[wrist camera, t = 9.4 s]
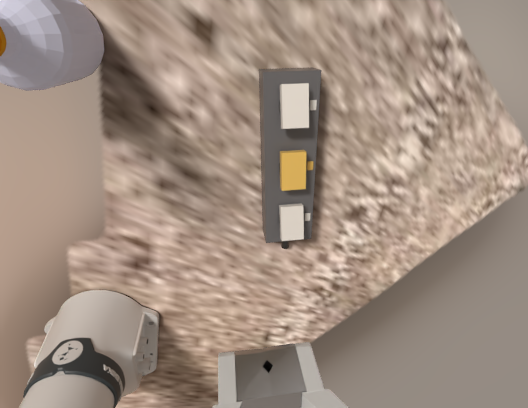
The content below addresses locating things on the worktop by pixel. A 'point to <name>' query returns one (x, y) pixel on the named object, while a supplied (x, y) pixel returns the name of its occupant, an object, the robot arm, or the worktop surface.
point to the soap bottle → (47, 43)
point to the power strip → (286, 147)
